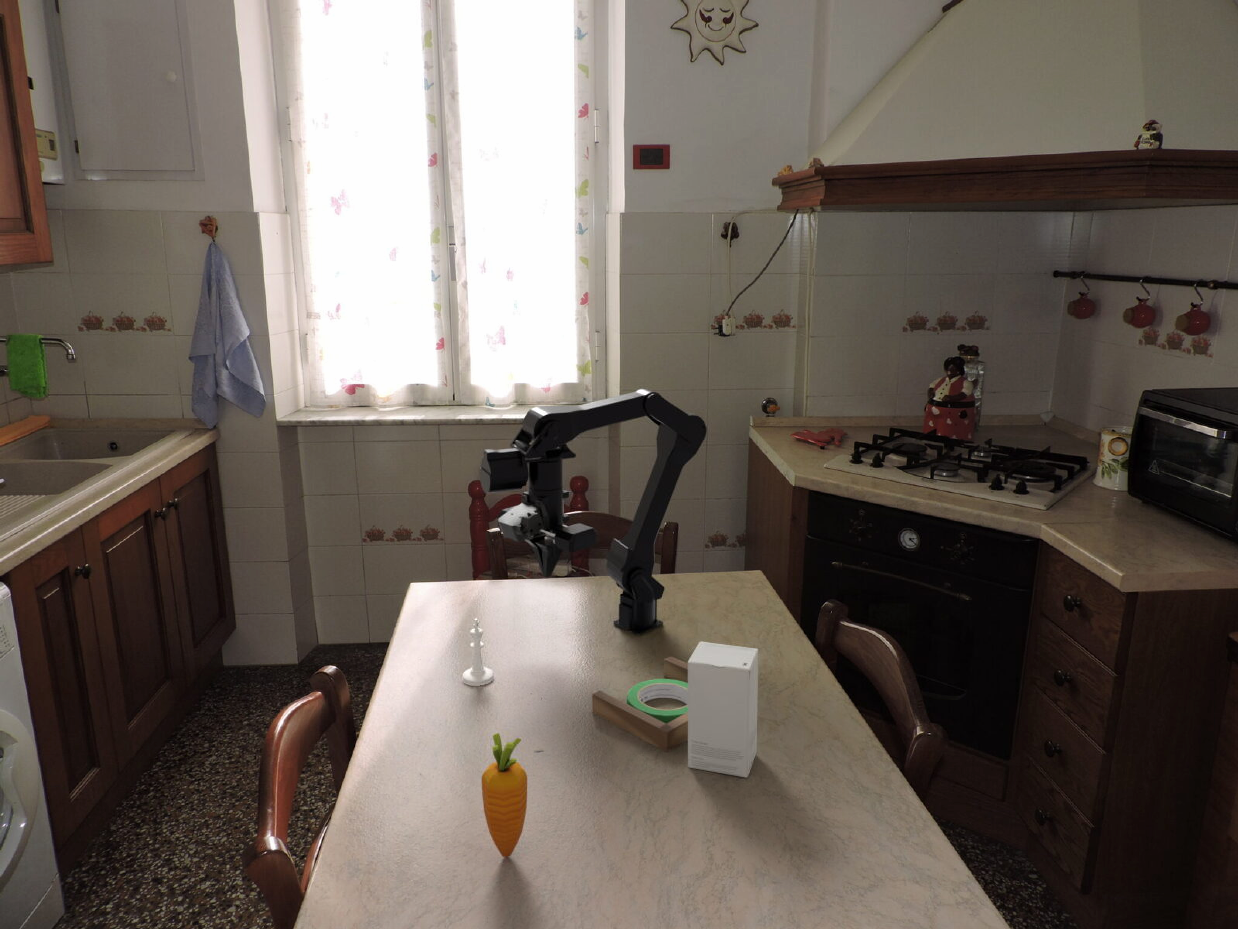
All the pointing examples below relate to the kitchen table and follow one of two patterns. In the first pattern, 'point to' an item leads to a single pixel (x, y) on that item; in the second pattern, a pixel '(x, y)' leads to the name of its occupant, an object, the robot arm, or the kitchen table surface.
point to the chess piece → (477, 661)
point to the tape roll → (659, 690)
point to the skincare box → (722, 708)
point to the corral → (642, 722)
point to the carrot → (504, 797)
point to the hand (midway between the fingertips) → (547, 576)
